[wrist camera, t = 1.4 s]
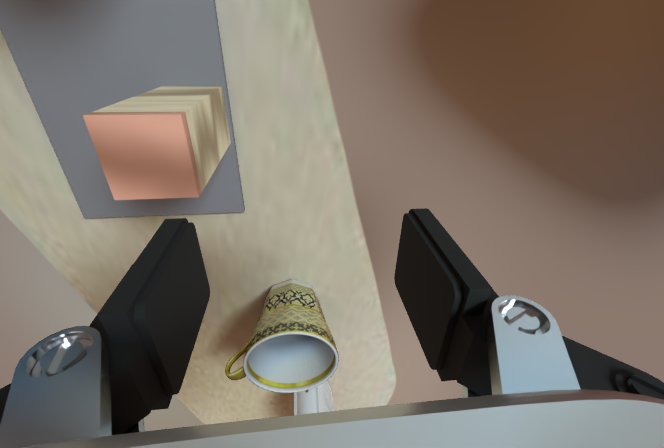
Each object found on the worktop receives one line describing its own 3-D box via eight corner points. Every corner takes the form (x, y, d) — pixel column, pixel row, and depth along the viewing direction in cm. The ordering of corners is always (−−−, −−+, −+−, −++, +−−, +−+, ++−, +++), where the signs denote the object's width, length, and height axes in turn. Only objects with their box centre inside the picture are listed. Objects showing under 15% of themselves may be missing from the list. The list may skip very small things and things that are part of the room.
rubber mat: (-19, -29, 23) (-26, -30, 22) (211, -21, 24) (210, -22, 24) (87, 215, 33) (84, 218, 32) (244, 209, 34) (244, 212, 34)
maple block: (162, 86, 27) (82, 115, 17) (222, 86, 27) (180, 114, 17) (175, 143, 29) (114, 200, 19) (230, 142, 30) (199, 197, 20)
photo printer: (290, 362, 48) (289, 453, 38) (317, 354, 48) (324, 444, 37) (310, 397, 54) (314, 486, 43) (334, 391, 53) (344, 478, 43)
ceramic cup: (313, 258, 39) (320, 320, 30) (338, 311, 44) (350, 377, 35) (217, 291, 40) (197, 360, 31) (253, 339, 45) (244, 410, 36)
